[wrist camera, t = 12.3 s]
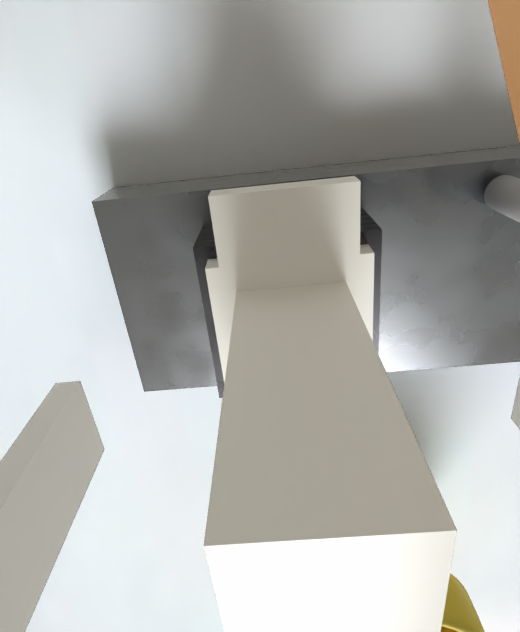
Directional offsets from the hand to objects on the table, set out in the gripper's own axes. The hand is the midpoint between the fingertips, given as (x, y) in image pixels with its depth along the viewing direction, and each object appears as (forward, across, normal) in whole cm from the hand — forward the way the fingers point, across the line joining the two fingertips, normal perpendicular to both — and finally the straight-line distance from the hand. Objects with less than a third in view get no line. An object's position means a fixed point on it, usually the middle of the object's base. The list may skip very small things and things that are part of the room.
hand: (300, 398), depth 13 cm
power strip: (+11, +6, 0) cm, 12 cm away
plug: (+8, 0, +1) cm, 8 cm away
